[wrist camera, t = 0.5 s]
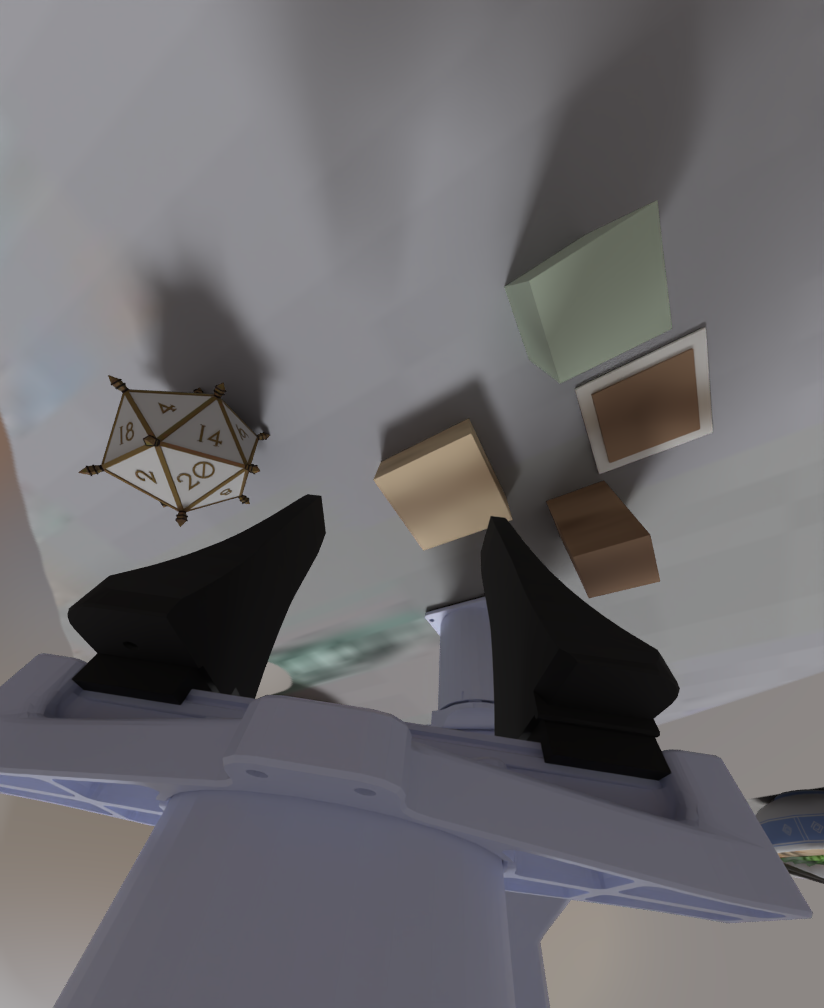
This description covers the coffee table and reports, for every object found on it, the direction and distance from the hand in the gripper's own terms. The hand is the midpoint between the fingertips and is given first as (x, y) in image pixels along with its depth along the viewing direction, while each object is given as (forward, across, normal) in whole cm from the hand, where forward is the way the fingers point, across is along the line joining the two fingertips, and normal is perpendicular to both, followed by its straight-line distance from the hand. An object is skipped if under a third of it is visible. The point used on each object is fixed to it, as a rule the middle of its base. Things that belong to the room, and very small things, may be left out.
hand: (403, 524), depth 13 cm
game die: (+10, +14, +1) cm, 17 cm away
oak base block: (+10, -2, +3) cm, 11 cm away
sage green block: (+10, -6, -8) cm, 14 cm away
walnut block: (+10, -12, +4) cm, 16 cm away
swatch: (+10, -13, -3) cm, 17 cm away
